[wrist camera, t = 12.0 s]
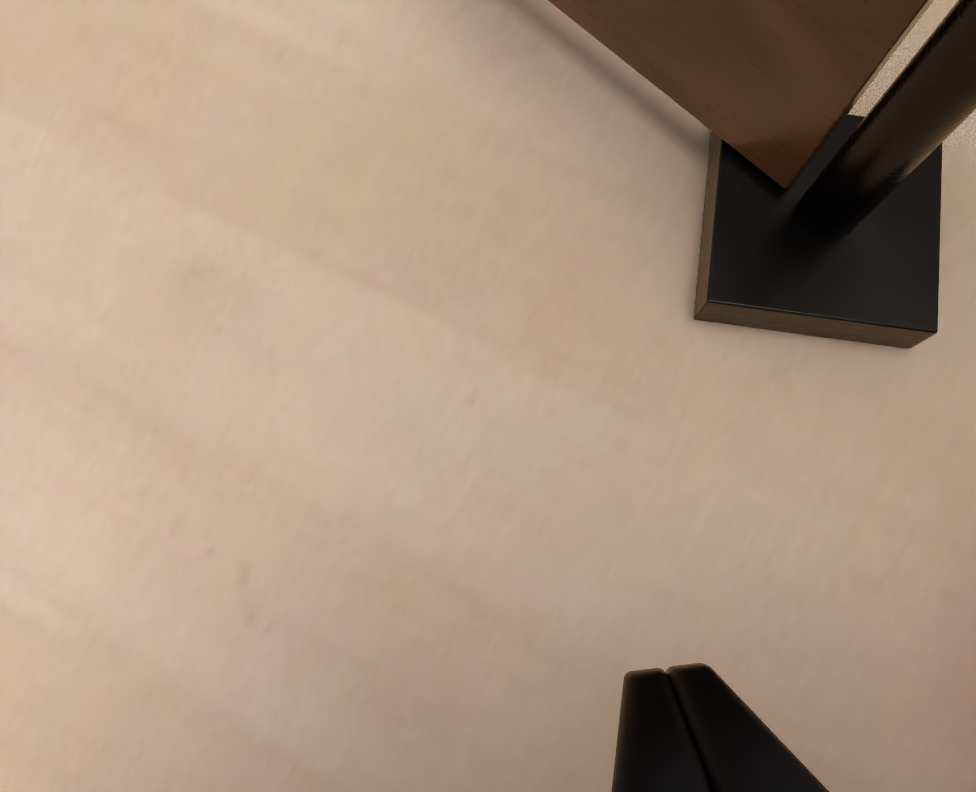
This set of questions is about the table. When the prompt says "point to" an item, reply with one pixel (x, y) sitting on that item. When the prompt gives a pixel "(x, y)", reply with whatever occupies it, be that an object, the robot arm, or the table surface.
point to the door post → (845, 213)
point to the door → (756, 63)
